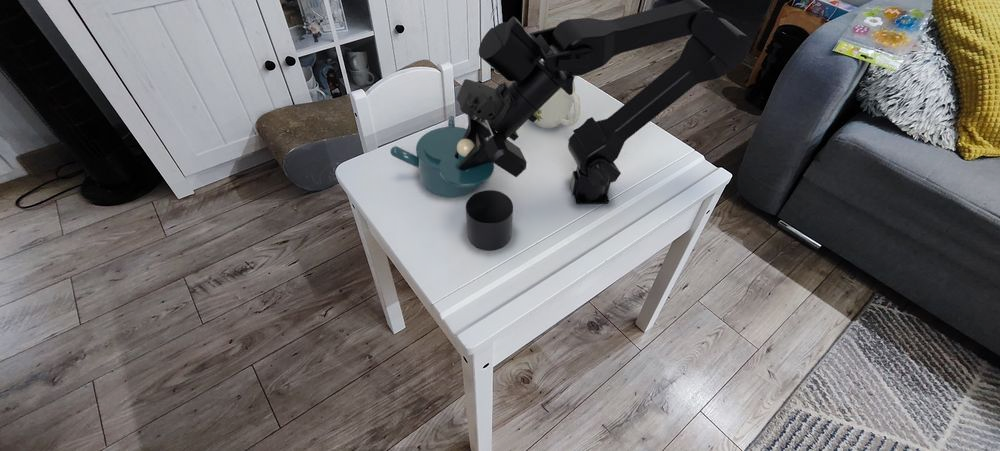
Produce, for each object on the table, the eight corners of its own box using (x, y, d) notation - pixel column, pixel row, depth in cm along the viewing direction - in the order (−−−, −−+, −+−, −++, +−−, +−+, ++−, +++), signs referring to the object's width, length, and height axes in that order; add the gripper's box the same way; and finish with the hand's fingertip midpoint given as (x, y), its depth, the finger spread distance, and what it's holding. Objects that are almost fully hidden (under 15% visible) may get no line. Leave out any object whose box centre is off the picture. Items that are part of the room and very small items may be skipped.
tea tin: (510, 217, 85) (511, 189, 80) (513, 250, 80) (514, 223, 74) (467, 218, 85) (465, 190, 79) (467, 251, 79) (465, 224, 74)
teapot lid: (499, 155, 79) (499, 127, 75) (487, 191, 73) (487, 163, 69) (447, 147, 80) (445, 120, 76) (432, 182, 74) (429, 154, 70)
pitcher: (553, 150, 98) (561, 94, 88) (508, 109, 109) (510, 54, 98) (592, 134, 103) (604, 79, 92) (545, 96, 113) (551, 42, 102)
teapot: (483, 143, 99) (483, 112, 94) (485, 196, 88) (485, 165, 82) (400, 145, 99) (394, 113, 93) (391, 198, 88) (384, 166, 82)
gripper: (474, 35, 70) (411, 107, 76) (508, 101, 58) (430, 180, 64) (520, 76, 77) (459, 138, 83) (559, 141, 65) (485, 209, 71)
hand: (458, 163), depth 75 cm, fingers closed on teapot lid, 3 cm apart
